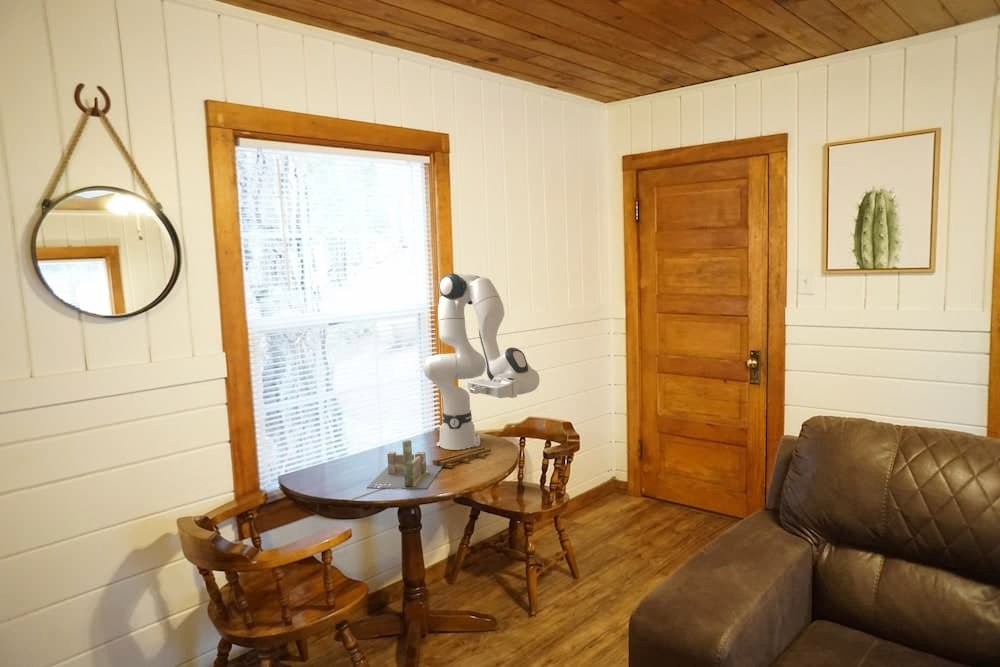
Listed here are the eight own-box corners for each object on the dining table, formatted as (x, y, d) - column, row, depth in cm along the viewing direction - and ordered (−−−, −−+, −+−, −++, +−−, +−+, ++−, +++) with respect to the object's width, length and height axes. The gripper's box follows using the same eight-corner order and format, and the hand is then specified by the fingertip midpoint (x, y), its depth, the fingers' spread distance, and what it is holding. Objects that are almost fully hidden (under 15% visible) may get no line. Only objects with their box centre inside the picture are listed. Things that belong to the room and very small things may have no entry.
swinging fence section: (426, 471, 243) (424, 430, 241) (411, 486, 226) (409, 442, 225) (418, 470, 243) (416, 429, 242) (403, 486, 227) (401, 442, 225)
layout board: (389, 465, 254) (389, 464, 254) (443, 466, 251) (443, 464, 251) (366, 488, 228) (366, 487, 228) (426, 489, 225) (426, 487, 225)
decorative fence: (429, 463, 252) (446, 468, 245) (429, 458, 252) (446, 463, 245) (478, 450, 270) (495, 455, 263) (478, 445, 270) (495, 450, 263)
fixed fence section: (390, 471, 245) (389, 451, 244) (415, 472, 243) (414, 452, 242) (388, 473, 242) (387, 453, 241) (413, 474, 241) (412, 453, 240)
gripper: (485, 374, 255) (455, 379, 247) (519, 380, 239) (487, 386, 231) (486, 390, 256) (456, 395, 248) (519, 397, 240) (488, 403, 232)
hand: (471, 391), depth 239 cm, fingers closed
